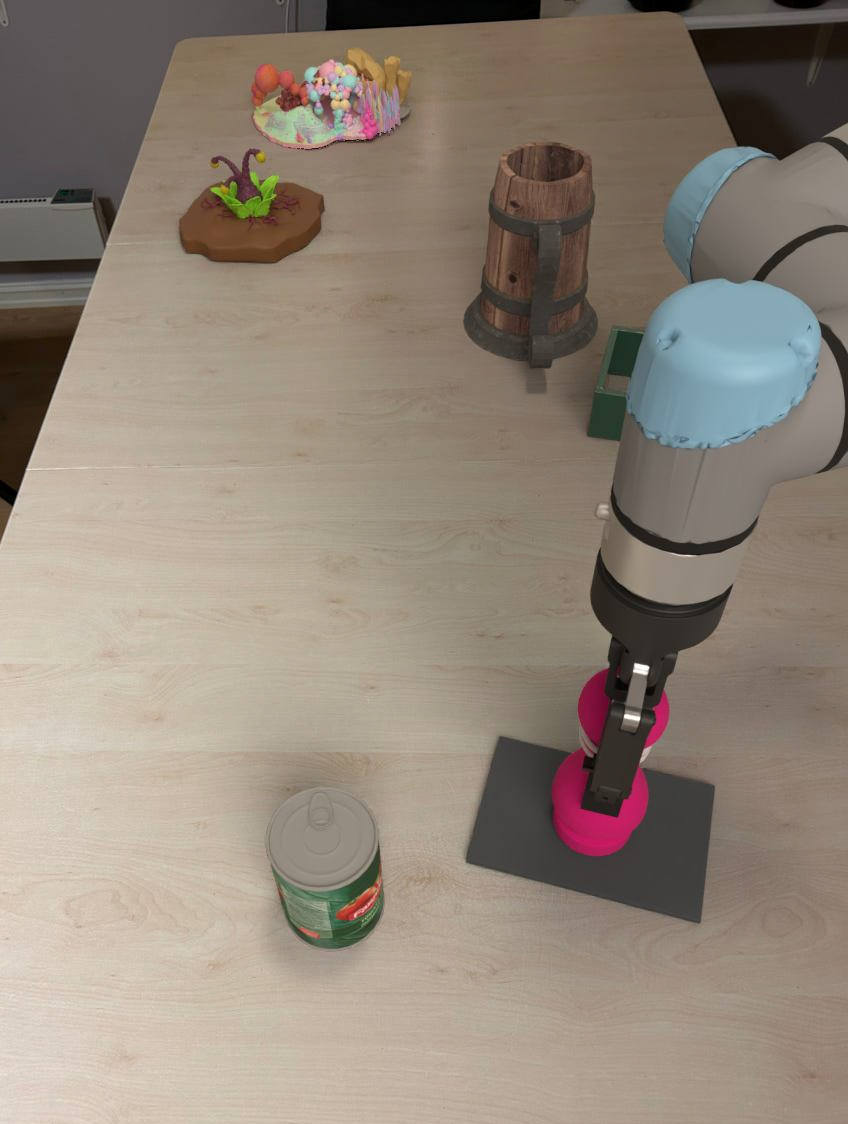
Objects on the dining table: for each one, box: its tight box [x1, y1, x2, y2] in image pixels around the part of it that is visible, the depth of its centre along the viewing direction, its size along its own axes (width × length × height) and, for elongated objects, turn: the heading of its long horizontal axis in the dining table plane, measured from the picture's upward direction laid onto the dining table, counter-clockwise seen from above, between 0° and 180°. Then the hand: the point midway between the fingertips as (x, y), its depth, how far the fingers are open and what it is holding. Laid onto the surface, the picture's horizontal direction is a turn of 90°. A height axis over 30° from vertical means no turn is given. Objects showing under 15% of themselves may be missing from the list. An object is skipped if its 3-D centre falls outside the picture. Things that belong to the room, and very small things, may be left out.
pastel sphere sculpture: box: [250, 46, 413, 150], centre depth 157 cm, size 25×24×9 cm
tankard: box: [463, 141, 599, 370], centre depth 112 cm, size 24×17×20 cm
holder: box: [587, 325, 646, 442], centre depth 108 cm, size 13×13×6 cm
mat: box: [465, 735, 716, 924], centre depth 78 cm, size 18×12×1 cm, turn 73°
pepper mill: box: [552, 666, 670, 856], centre depth 70 cm, size 7×7×20 cm
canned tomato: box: [264, 785, 386, 952], centre depth 71 cm, size 8×8×11 cm
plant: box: [178, 147, 326, 264], centre depth 135 cm, size 20×20×11 cm
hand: (606, 774), depth 72 cm, fingers closed on pepper mill, 5 cm apart
